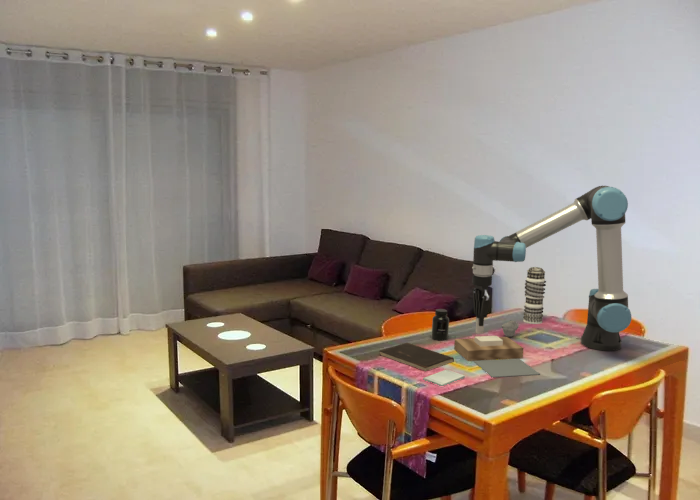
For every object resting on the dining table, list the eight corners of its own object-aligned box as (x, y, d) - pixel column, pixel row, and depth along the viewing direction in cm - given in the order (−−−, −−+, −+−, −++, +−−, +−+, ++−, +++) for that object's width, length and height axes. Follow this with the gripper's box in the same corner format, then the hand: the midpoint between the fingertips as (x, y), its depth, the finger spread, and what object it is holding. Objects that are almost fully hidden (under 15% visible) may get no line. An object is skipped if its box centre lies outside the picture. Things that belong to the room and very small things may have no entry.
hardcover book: (425, 373, 214) (425, 367, 214) (379, 356, 231) (379, 350, 230) (453, 363, 225) (454, 357, 224) (407, 347, 241) (407, 342, 241)
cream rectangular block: (496, 340, 237) (496, 335, 237) (502, 345, 231) (502, 340, 231) (474, 341, 236) (474, 336, 235) (480, 346, 230) (480, 341, 229)
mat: (519, 359, 228) (519, 358, 228) (540, 374, 213) (540, 373, 213) (473, 361, 225) (473, 361, 225) (491, 377, 209) (491, 376, 209)
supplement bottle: (440, 341, 247) (441, 313, 246) (428, 337, 253) (429, 309, 251) (451, 338, 252) (452, 310, 250) (439, 334, 257) (440, 307, 255)
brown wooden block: (506, 346, 243) (507, 336, 242) (522, 358, 229) (523, 347, 229) (454, 348, 239) (454, 339, 238) (467, 361, 225) (468, 350, 225)
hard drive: (446, 368, 214) (422, 377, 206) (464, 375, 208) (441, 384, 200) (445, 373, 214) (422, 382, 206) (464, 380, 208) (441, 389, 200)
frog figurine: (518, 339, 252) (519, 323, 251) (500, 338, 254) (501, 321, 253) (518, 335, 258) (519, 319, 257) (501, 333, 260) (502, 318, 259)
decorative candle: (544, 325, 274) (547, 270, 270) (522, 323, 276) (526, 269, 272) (542, 319, 283) (546, 266, 279) (522, 318, 285) (525, 265, 281)
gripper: (467, 271, 244) (464, 328, 248) (479, 278, 231) (476, 338, 235) (484, 271, 245) (481, 327, 249) (498, 278, 233) (495, 337, 236)
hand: (479, 332), depth 242 cm, fingers closed
